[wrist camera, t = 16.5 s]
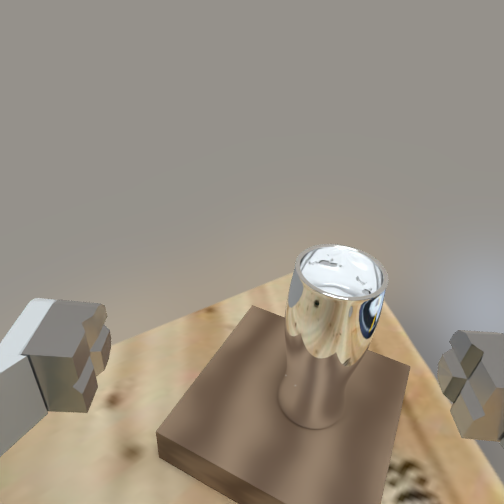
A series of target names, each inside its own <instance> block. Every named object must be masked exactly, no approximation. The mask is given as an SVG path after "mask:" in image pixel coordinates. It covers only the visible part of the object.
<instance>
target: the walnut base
mask: <svg viewBox="0 0 504 504" xmlns="http://www.w3.org/2000/svg"><path fill="white" fill-rule="evenodd" d="M286 368H287V355H286V344H285V318H284V317H281V316H279V315H276V314H274V313H271V312H268V311H266V310H263V309H261V308H258V307H255V306H253V305H252V307H251V308H250V309H249V311H248V312H247V313H246V314H245V316H244V317H243V318H242V320H241V321H240V322H239V324H238V325H237V326H236V328H235V329H234V330H233V331H232V333H231V334H230V335H229V337H228V338H227V339H226V341H225V342H224V343H223V345H222V346H221V347H220V348H219V350H218V351H217V352H216V354H215V355H214V356H213V358H212V359H211V360H210V362H209V363H208V364H207V365H206V367H205V368H204V369H203V371H202V372H201V373H200V375H199V376H198V377H197V379H196V380H195V381H194V382H193V384H192V385H191V386H190V388H189V389H188V390H187V392H186V393H185V394H184V396H183V397H182V398H181V399H180V401H179V402H178V403H177V405H176V406H175V407H174V409H173V410H172V411H171V413H170V414H169V415H168V416H167V418H166V419H165V420H164V422H163V423H162V424H161V426H160V427H159V428H158V430H157V431H156V436H157V444H158V452H159V457H160V458H161V459H163V460H165V461H167V462H168V463H170V464H172V465H173V466H175V467H177V468H179V469H180V470H182V471H184V472H185V473H187V474H189V475H191V476H192V477H194V478H196V479H198V480H199V481H201V482H203V483H204V484H206V485H208V486H210V487H211V488H213V489H215V490H217V491H218V492H220V493H222V494H223V495H225V496H227V497H229V498H230V499H232V500H234V501H236V502H237V503H239V504H381V500H382V495H383V491H384V486H385V481H386V477H387V472H388V468H389V463H390V458H391V454H392V449H393V444H394V440H395V435H396V431H397V426H398V421H399V417H400V412H401V408H402V403H403V398H404V394H405V389H406V384H407V380H408V375H409V371H410V366H408V365H406V364H403V363H400V362H398V361H395V360H393V359H390V358H387V357H385V356H382V355H380V354H377V353H375V352H372V351H369V350H367V351H366V353H365V355H364V357H363V358H362V360H361V361H360V363H359V365H358V366H357V368H356V369H355V371H354V372H353V374H352V375H351V377H350V379H349V380H348V383H347V385H346V389H345V406H344V411H343V414H342V416H341V417H340V419H339V420H338V421H337V422H336V423H335V424H333V425H331V426H329V427H327V428H323V429H309V428H305V427H302V426H300V425H298V424H296V423H294V422H293V421H291V420H290V419H289V418H288V417H287V416H286V415H285V414H284V412H283V411H282V409H281V407H280V405H279V401H278V389H279V386H280V383H281V381H282V379H283V377H284V375H285V372H286Z"/></svg>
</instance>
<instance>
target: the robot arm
mask: <svg viewBox="0 0 504 504" xmlns="http://www.w3.org/2000/svg"><path fill="white" fill-rule="evenodd" d="M106 318H107V313H106V309H105V306H104V305H102V304H98V303H87V302H78V301H67V300H52V299H43V298H35V299H33V300H32V301H30V302H29V303H28V305H27V306H26V307H25V309H24V310H23V312H22V313H21V314H20V316H19V317H18V319H17V320H16V321H15V323H14V324H13V326H12V327H11V328H10V330H9V331H8V333H7V334H6V336H5V337H4V338H3V340H2V341H1V343H0V457H1V456H2V455H3V454H4V453H5V452H6V451H7V450H8V449H9V448H11V447H12V446H13V445H14V444H15V443H16V442H17V441H18V440H19V439H20V438H22V437H23V436H24V435H25V434H26V433H27V432H28V431H29V430H30V429H31V428H33V427H34V426H35V425H36V424H37V423H38V422H39V421H40V420H41V419H42V418H44V417H45V416H46V415H47V414H48V412H47V411H54V412H79V413H87V412H88V410H89V408H90V405H91V403H92V400H93V398H94V395H95V393H96V390H97V388H98V385H97V380H96V376H97V375H99V374H100V373H101V372H103V371H104V370H105V367H106V365H107V362H108V359H109V354H110V349H111V336H110V330H109V329H108V328H107V327H106V326H105V325H104V322H105V320H106ZM449 342H450V344H451V346H452V349H450V350H449V351H447V352H446V353H444V354H442V357H441V359H440V361H439V363H438V373H437V376H438V381H439V385H440V388H441V390H442V393H443V394H444V395H445V396H446V397H447V398H448V399H449V400H450V401H452V402H453V404H452V407H451V410H450V412H451V414H452V417H453V419H454V421H455V424H456V426H457V428H458V431H459V433H460V435H461V438H466V439H477V440H487V441H498V442H500V443H499V444H500V445H501V446H502V447H503V448H504V333H496V332H480V331H465V330H458V331H457V332H455V333H454V334H453V336H452V338H451V339H450V341H449Z"/></svg>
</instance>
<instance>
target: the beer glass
mask: <svg viewBox="0 0 504 504" xmlns="http://www.w3.org/2000/svg"><path fill="white" fill-rule="evenodd" d="M387 285H388V275H387V272H386V270H385V268H384V267H383V265H382V264H381V263H380V262H379V261H378V260H376V259H375V258H374V257H372V256H371V255H369V254H367V253H365V252H363V251H361V250H359V249H356V248H353V247H349V246H345V245H338V244H322V245H316V246H313V247H310V248H307V249H306V250H304V251H303V252H301V253H300V255H299V256H298V257H297V259H296V263H295V269H294V273H293V276H292V280H291V284H290V288H289V292H288V298H287V303H286V311H285V344H286V355H287V368H286V372H285V375H284V377H283V379H282V381H281V383H280V386H279V389H278V401H279V405H280V407H281V409H282V411H283V412H284V414H285V415H286V416H287V417H288V418H289V419H290V420H291V421H293V422H294V423H296V424H298V425H300V426H302V427H305V428H309V429H323V428H327V427H329V426H331V425H333V424H335V423H336V422H337V421H338V420H339V419H340V417H341V416H342V414H343V411H344V406H345V389H346V385H347V383H348V380H349V379H350V377H351V375H352V374H353V372H354V371H355V369H356V368H357V366H358V365H359V363H360V361H361V360H362V358H363V357H364V355H365V353H366V351H367V349H368V347H369V346H370V344H371V342H372V339H373V336H374V334H375V331H376V328H377V325H378V322H379V318H380V315H381V310H382V306H383V301H384V296H385V291H386V287H387Z"/></svg>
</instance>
